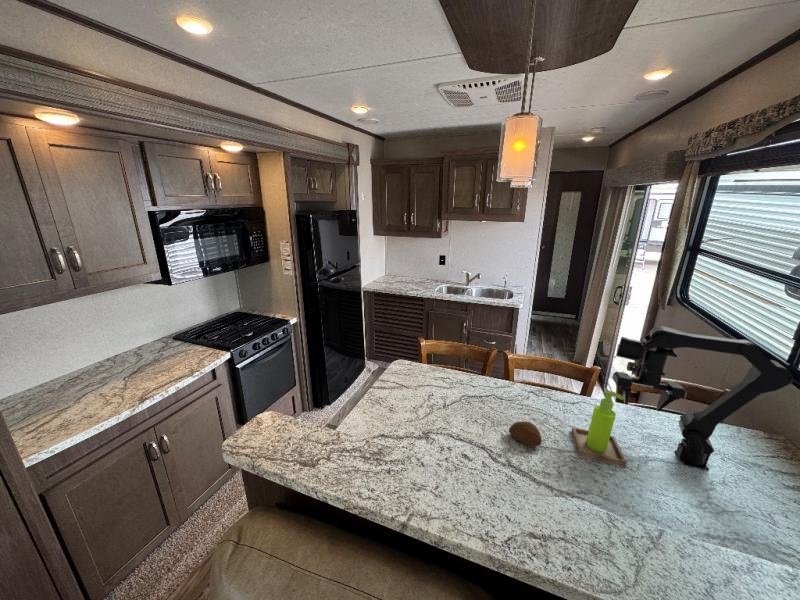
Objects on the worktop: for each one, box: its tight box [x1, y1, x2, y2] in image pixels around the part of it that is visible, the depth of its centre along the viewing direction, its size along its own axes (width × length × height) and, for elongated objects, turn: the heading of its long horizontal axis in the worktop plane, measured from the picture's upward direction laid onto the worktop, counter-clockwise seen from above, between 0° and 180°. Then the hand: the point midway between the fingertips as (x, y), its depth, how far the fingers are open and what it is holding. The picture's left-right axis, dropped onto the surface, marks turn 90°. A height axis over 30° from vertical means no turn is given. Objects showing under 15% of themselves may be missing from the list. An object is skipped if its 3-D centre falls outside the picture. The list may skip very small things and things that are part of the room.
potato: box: [508, 421, 543, 448], centre depth 104 cm, size 7×10×7 cm
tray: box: [571, 426, 628, 468], centre depth 103 cm, size 13×13×2 cm
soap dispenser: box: [586, 389, 625, 452], centre depth 100 cm, size 6×7×20 cm
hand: (641, 407), depth 105 cm, fingers open, 9 cm apart
